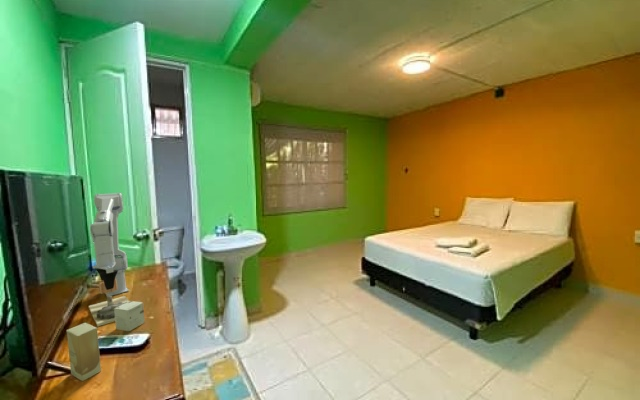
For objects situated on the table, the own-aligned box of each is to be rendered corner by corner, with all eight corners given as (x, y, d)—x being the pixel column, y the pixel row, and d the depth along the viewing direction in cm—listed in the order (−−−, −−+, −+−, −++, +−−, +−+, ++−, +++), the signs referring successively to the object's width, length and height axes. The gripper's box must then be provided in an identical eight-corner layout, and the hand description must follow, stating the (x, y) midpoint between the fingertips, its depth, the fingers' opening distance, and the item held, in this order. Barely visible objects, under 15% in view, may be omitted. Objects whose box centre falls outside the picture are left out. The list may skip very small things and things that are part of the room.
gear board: (88, 308, 113) (87, 297, 112) (125, 298, 121) (124, 287, 121) (97, 326, 99) (96, 314, 98) (137, 313, 107) (136, 302, 107)
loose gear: (98, 291, 112) (97, 281, 111) (115, 286, 116) (114, 277, 115) (101, 295, 108) (100, 284, 108) (118, 290, 112) (117, 280, 112)
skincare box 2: (129, 331, 95) (127, 310, 94) (115, 329, 97) (113, 308, 96) (145, 322, 101) (143, 302, 100) (132, 320, 102) (130, 300, 102)
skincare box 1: (70, 374, 75) (64, 329, 74) (89, 364, 79) (84, 321, 78) (82, 382, 72) (77, 335, 71) (102, 371, 76) (97, 327, 75)
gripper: (88, 251, 113) (92, 285, 114) (94, 258, 102) (98, 295, 104) (110, 247, 118) (113, 280, 119) (118, 254, 107) (122, 289, 109)
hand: (108, 286), depth 112 cm, fingers closed on loose gear, 5 cm apart
